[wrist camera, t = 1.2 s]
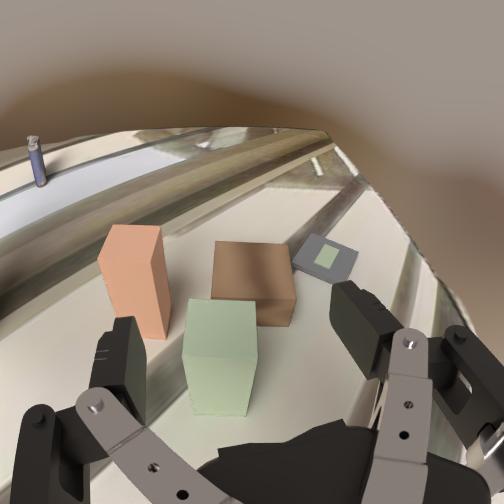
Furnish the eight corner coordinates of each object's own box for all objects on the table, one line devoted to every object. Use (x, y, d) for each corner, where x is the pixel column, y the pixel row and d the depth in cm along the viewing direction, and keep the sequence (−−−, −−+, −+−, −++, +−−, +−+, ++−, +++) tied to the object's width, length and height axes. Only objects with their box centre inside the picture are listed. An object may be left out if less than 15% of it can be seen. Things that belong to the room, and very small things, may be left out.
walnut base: (211, 324, 36) (211, 296, 33) (215, 269, 43) (215, 241, 40) (288, 326, 37) (296, 299, 34) (281, 272, 44) (287, 244, 41)
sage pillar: (194, 414, 28) (182, 355, 20) (196, 371, 32) (188, 298, 24) (245, 416, 28) (257, 358, 20) (244, 373, 32) (255, 301, 24)
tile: (290, 265, 45) (291, 260, 44) (310, 236, 50) (311, 231, 50) (342, 288, 42) (344, 283, 42) (357, 255, 48) (359, 251, 47)
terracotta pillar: (124, 335, 34) (97, 259, 26) (132, 302, 38) (113, 224, 30) (166, 339, 34) (150, 261, 26) (171, 305, 38) (161, 225, 30)
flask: (47, 185, 57) (37, 140, 50) (35, 189, 56) (24, 144, 48) (46, 169, 62) (37, 128, 55) (35, 173, 61) (26, 132, 54)
